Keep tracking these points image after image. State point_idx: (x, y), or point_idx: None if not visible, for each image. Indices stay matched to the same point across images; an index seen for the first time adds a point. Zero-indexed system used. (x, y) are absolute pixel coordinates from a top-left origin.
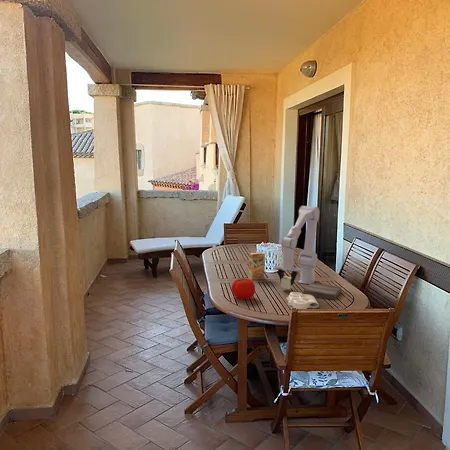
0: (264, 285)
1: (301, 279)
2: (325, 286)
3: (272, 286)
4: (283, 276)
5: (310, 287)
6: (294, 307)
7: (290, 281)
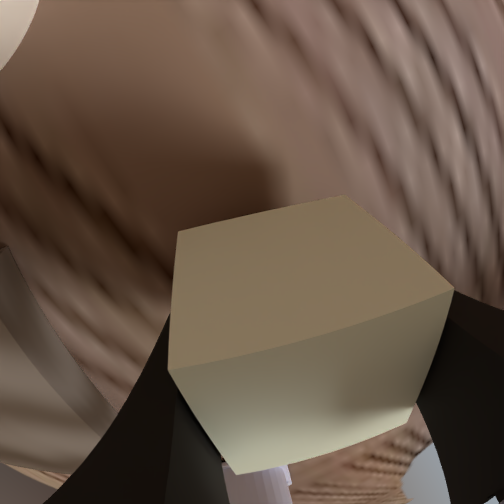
0: (498, 231)
1: (267, 478)
2: (24, 451)
3: (445, 257)
4: (420, 404)
5: (34, 400)
6: None
7: (173, 335)
